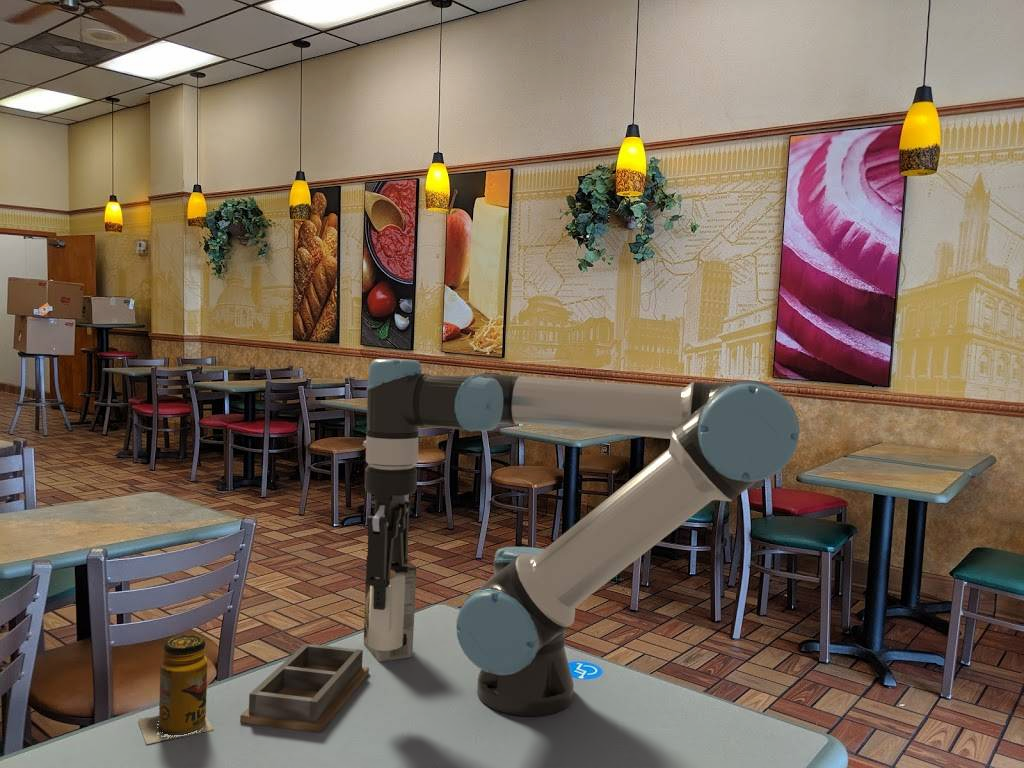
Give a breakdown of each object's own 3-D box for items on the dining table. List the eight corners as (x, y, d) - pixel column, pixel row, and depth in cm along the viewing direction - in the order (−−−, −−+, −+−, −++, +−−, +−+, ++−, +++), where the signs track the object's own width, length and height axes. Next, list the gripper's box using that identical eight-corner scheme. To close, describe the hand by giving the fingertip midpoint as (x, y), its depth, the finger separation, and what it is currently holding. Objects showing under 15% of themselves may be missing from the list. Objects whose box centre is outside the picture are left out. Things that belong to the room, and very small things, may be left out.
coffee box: (361, 643, 141) (365, 554, 140) (395, 638, 144) (399, 551, 143) (378, 662, 133) (382, 569, 132) (413, 657, 136) (417, 565, 135)
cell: (406, 639, 117) (409, 568, 117) (396, 652, 112) (399, 577, 112) (374, 636, 118) (376, 565, 117) (363, 648, 113) (366, 574, 112)
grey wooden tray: (368, 673, 129) (369, 649, 128) (321, 732, 109) (322, 704, 109) (299, 665, 130) (300, 641, 130) (240, 722, 111) (241, 694, 110)
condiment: (213, 730, 108) (216, 645, 107) (146, 745, 103) (148, 656, 103) (201, 708, 114) (204, 627, 113) (137, 721, 109) (139, 637, 109)
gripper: (385, 455, 123) (380, 601, 124) (344, 473, 106) (339, 643, 107) (432, 458, 122) (426, 605, 123) (398, 476, 104) (393, 648, 106)
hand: (386, 622), depth 115 cm, fingers closed on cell, 5 cm apart
